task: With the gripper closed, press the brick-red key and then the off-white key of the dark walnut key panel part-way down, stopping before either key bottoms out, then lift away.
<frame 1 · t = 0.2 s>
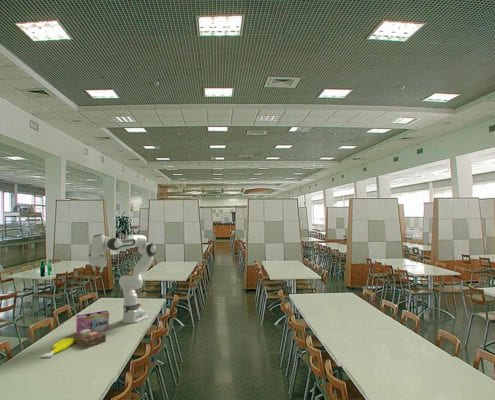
hand: (97, 271, 247), 48 cm above the table, fingers open, 8 cm apart
white key: (85, 333, 227), point 5 cm above the table, slide at 0.0 cm
brick key: (92, 336, 221), point 5 cm above the table, slide at 0.0 cm
spray bottle: (58, 350, 211), on the table, touching key panel
gum box: (92, 331, 245), on the table
key panel: (89, 341, 224), on the table
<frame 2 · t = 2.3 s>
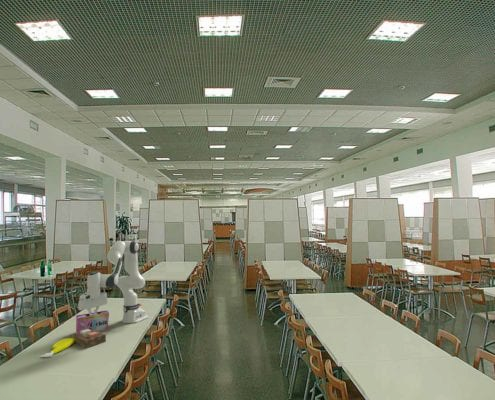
hand: (93, 313, 222), 21 cm above the table, fingers open, 3 cm apart
nothing on the table moved.
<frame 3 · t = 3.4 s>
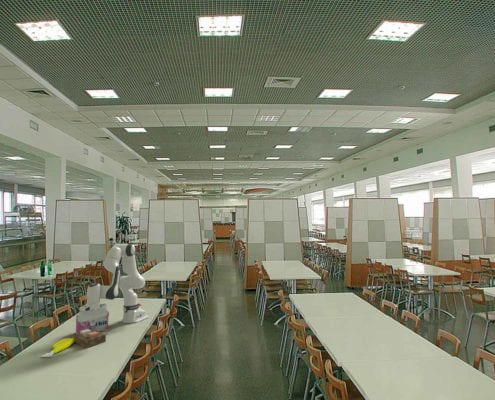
hand: (92, 325, 222), 13 cm above the table, fingers closed
nothing on the table moved.
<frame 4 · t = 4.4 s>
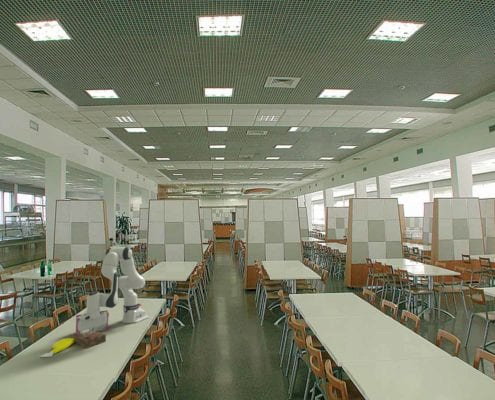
hand: (92, 333, 221), 7 cm above the table, fingers closed, pressing on brick key
brick key: (92, 336, 221), point 5 cm above the table, slide at 0.4 cm, touching gripper
everything else where it was.
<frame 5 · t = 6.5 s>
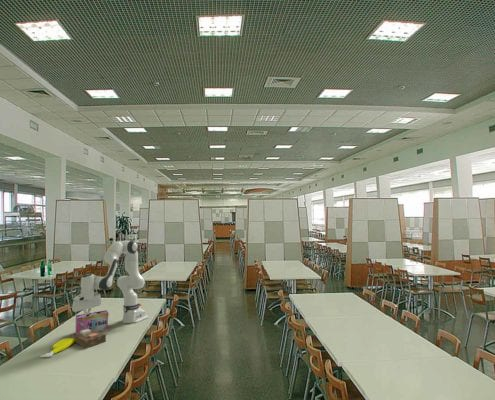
hand: (87, 314, 227), 19 cm above the table, fingers closed
brick key: (92, 337, 221), point 4 cm above the table, slide at 1.0 cm
everything else where it was.
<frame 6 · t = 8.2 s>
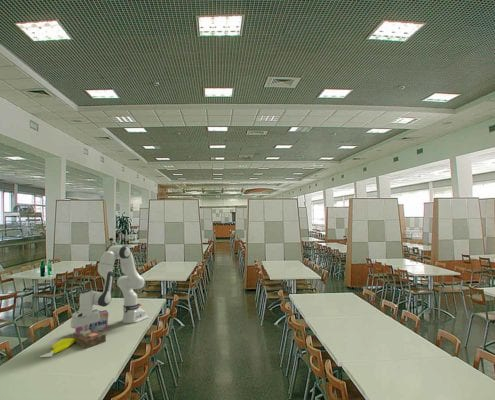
hand: (85, 330, 227), 7 cm above the table, fingers closed, pressing on white key
white key: (85, 333, 227), point 5 cm above the table, slide at 0.2 cm, touching gripper
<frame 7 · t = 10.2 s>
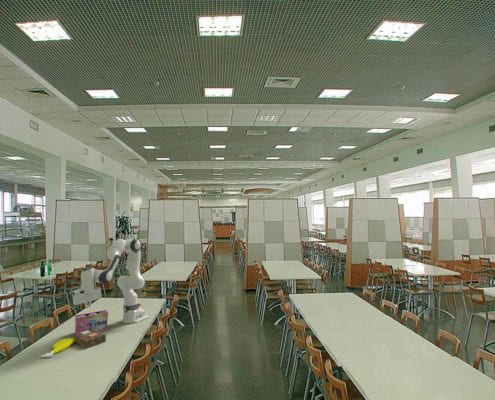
hand: (87, 307, 232), 23 cm above the table, fingers closed
white key: (85, 334, 227), point 4 cm above the table, slide at 1.1 cm
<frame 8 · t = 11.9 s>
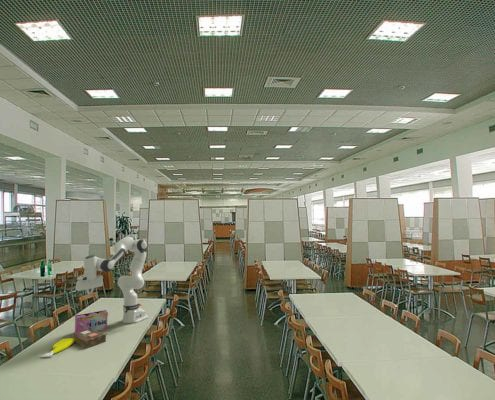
hand: (89, 294, 239), 31 cm above the table, fingers closed
at the end: brick key slide at 1.0 cm; white key slide at 1.1 cm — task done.
